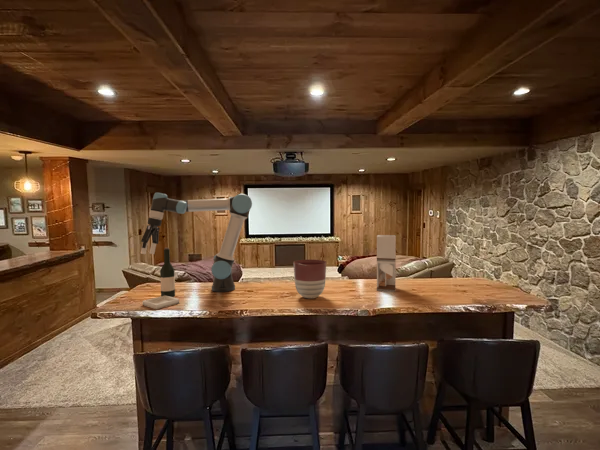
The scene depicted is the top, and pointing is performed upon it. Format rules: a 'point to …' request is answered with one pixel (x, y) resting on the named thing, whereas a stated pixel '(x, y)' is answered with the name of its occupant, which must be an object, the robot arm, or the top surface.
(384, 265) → the beige dispenser tower
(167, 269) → the wine bottle
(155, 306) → the grey dish
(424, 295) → the top surface
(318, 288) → the planter
